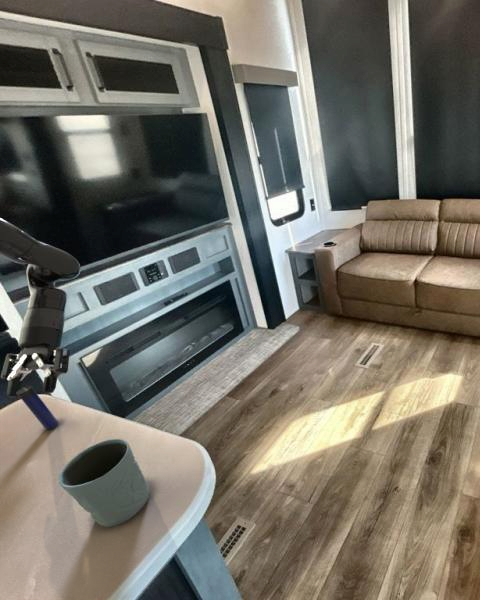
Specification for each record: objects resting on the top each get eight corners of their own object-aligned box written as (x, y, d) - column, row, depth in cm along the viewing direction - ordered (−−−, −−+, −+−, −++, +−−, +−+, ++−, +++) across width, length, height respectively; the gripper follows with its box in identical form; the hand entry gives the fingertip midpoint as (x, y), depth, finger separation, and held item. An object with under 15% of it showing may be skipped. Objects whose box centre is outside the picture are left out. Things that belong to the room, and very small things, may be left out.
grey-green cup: (87, 510, 68) (51, 469, 63) (144, 470, 75) (116, 429, 70) (104, 542, 63) (67, 499, 57) (165, 495, 70) (136, 453, 64)
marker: (42, 431, 89) (12, 394, 84) (51, 422, 92) (23, 386, 86) (53, 430, 89) (24, 393, 84) (62, 421, 92) (34, 385, 86)
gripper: (-1, 328, 88) (-17, 397, 83) (56, 321, 87) (43, 390, 83) (31, 334, 95) (18, 398, 90) (83, 328, 95) (73, 392, 90)
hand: (30, 394), depth 86 cm, fingers open, 8 cm apart
